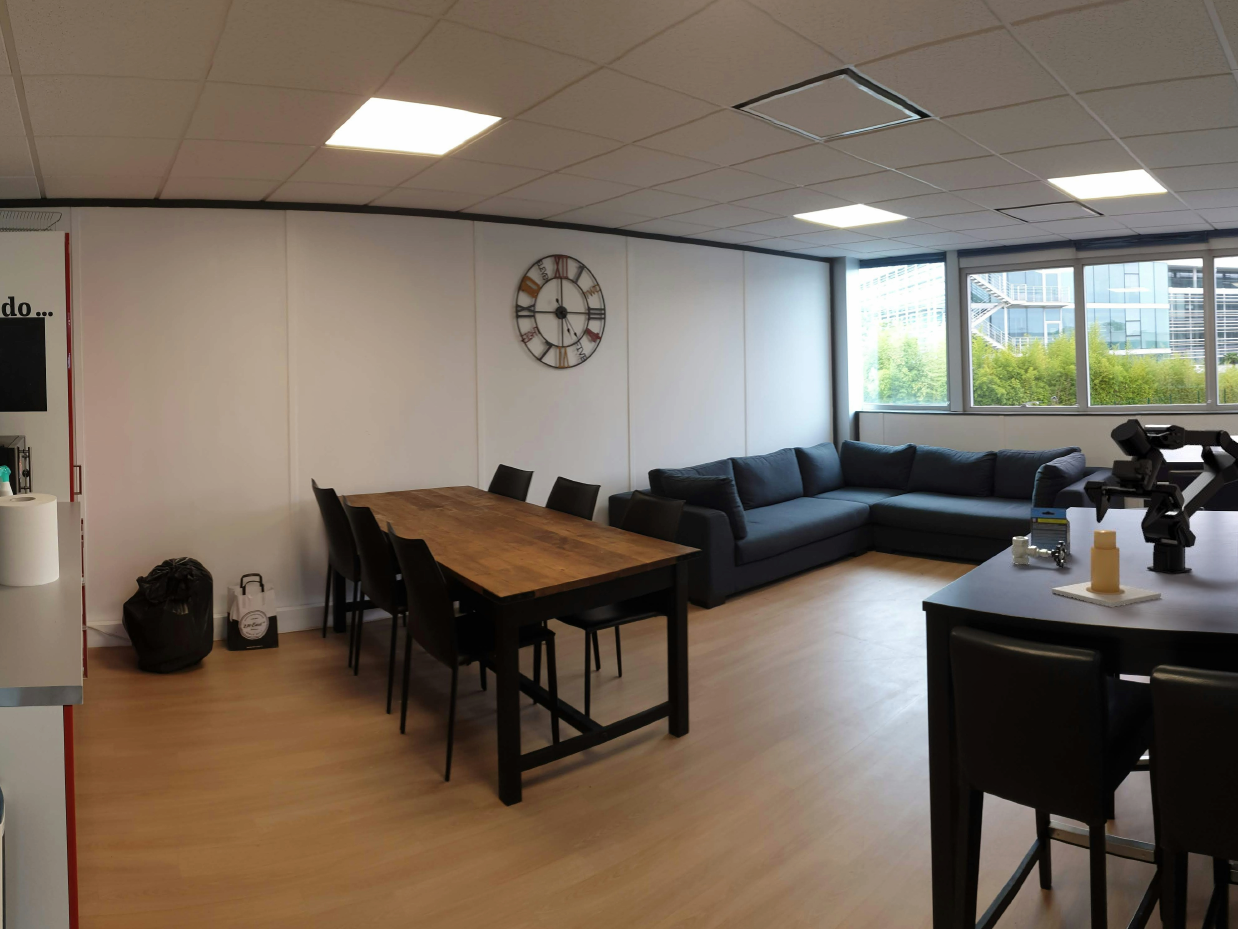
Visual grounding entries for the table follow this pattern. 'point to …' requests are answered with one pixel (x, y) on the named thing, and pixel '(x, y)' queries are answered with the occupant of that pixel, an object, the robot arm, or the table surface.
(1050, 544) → the label tape cartridge
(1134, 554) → the table surface
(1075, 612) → the table surface
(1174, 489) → the robot arm
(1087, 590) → the plate
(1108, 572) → the stepped tan cylinder
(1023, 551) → the valve
